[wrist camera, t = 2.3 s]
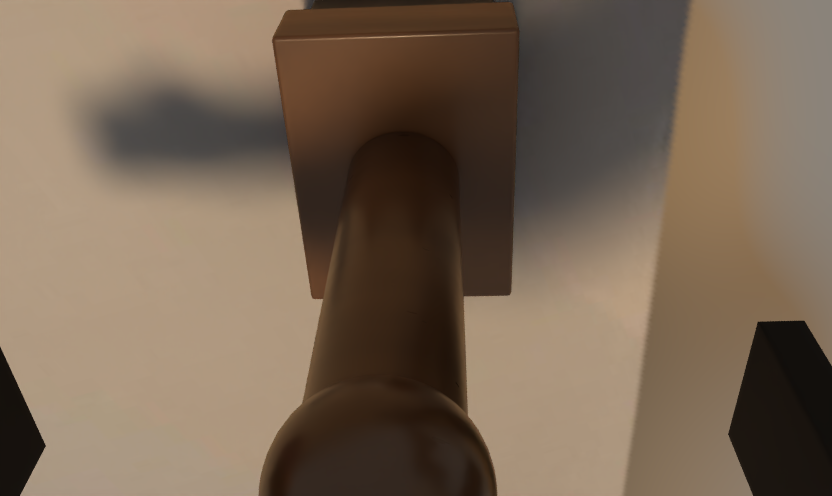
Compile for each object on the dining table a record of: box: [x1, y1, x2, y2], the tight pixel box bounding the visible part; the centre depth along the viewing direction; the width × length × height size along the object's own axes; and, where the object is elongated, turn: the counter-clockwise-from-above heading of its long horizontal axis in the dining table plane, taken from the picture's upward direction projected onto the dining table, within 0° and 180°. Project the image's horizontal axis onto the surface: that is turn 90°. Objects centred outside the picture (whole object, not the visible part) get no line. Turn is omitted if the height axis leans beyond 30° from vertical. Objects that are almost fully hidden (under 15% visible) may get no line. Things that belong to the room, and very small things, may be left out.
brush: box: [259, 0, 519, 496], centre depth 17 cm, size 8×6×15 cm
